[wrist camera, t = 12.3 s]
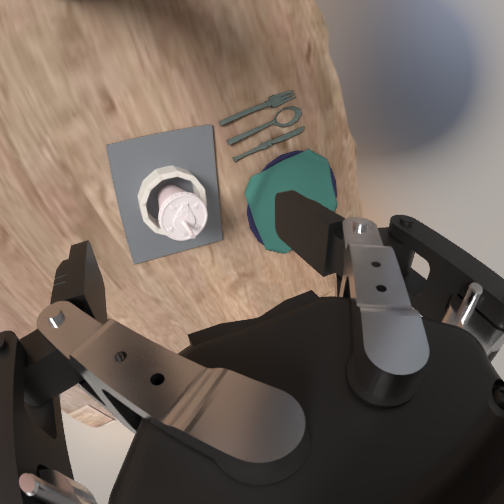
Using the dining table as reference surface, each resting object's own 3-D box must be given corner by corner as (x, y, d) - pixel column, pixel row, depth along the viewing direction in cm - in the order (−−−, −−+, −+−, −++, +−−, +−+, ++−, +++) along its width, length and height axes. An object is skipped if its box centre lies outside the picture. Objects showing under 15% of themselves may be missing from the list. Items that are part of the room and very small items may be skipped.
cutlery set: (262, 264, 60) (267, 270, 58) (204, 122, 42) (208, 123, 40) (337, 218, 63) (344, 222, 62) (305, 83, 46) (313, 83, 44)
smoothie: (149, 216, 44) (166, 260, 33) (149, 176, 41) (165, 207, 30) (188, 213, 47) (218, 253, 36) (190, 174, 44) (222, 203, 33)
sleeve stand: (106, 145, 36) (105, 149, 33) (210, 124, 42) (221, 126, 38) (133, 262, 47) (136, 277, 43) (221, 238, 52) (231, 250, 49)
